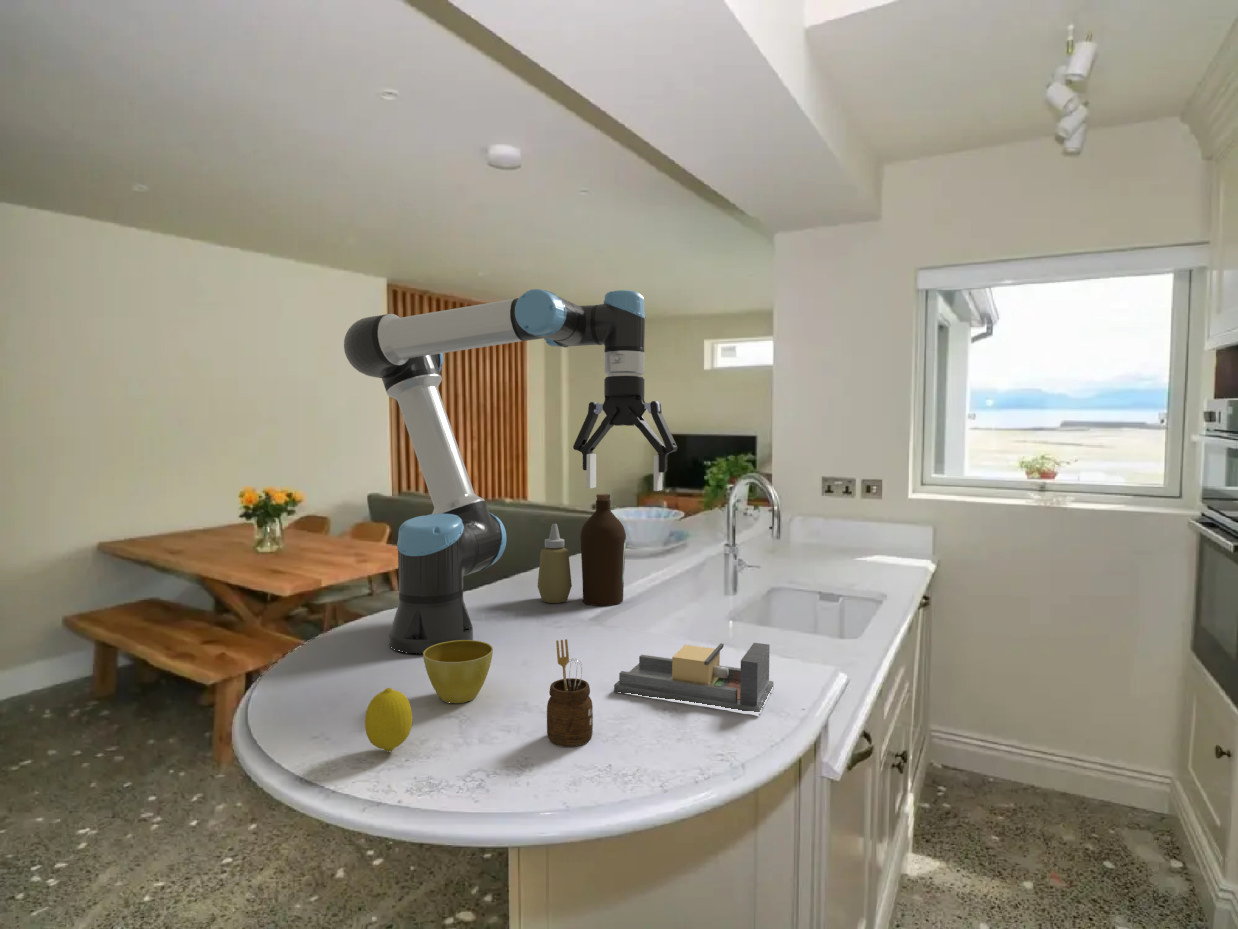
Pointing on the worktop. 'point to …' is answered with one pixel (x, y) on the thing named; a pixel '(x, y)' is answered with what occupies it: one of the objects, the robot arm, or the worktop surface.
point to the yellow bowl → (458, 668)
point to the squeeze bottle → (554, 569)
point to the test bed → (734, 692)
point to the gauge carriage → (698, 664)
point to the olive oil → (603, 556)
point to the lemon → (388, 719)
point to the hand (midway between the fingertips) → (624, 489)
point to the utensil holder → (569, 707)
